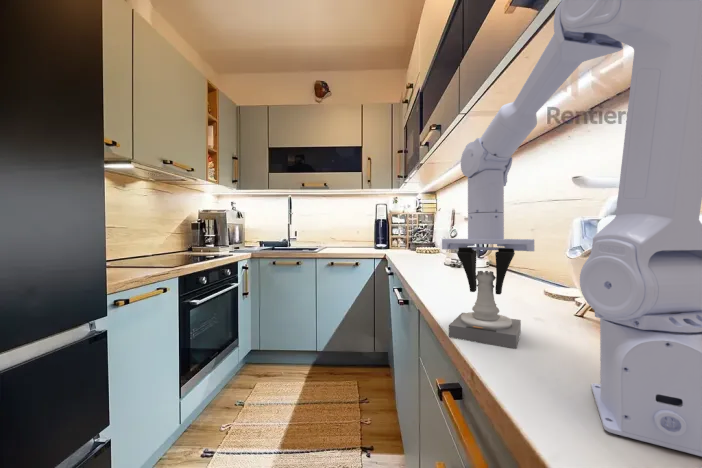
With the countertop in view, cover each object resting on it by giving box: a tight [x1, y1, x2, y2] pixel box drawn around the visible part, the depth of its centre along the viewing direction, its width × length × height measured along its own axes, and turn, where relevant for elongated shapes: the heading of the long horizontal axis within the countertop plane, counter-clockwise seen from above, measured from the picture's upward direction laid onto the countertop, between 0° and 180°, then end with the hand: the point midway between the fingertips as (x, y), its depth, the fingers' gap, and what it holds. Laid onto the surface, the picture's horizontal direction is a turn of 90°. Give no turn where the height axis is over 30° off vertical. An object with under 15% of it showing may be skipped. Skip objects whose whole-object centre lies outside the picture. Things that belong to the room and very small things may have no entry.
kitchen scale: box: [448, 311, 522, 350], centre depth 53 cm, size 10×10×3 cm
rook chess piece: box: [471, 270, 500, 321], centre depth 53 cm, size 4×4×8 cm
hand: (485, 292), depth 53 cm, fingers open, 3 cm apart
